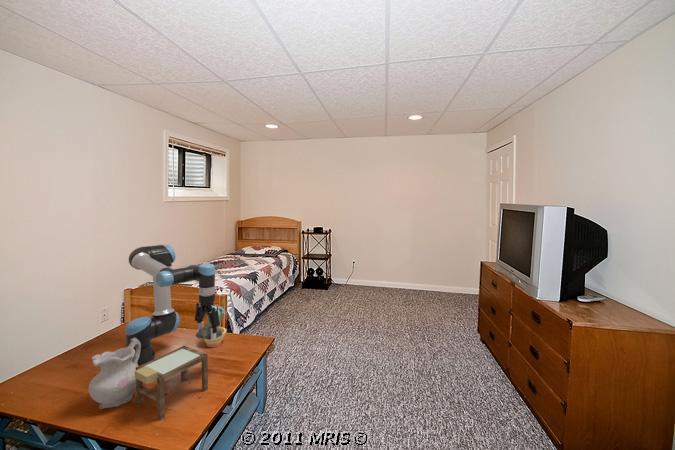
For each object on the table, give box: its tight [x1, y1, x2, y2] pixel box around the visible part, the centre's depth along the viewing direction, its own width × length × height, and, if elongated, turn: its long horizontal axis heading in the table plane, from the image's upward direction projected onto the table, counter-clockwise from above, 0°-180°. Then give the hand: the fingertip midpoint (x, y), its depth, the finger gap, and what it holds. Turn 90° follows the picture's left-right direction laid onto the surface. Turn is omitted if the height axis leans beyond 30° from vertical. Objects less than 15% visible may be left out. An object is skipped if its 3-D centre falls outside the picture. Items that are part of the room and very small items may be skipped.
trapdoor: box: [135, 349, 201, 385], centre depth 128 cm, size 13×23×3 cm, turn 153°
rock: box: [195, 323, 222, 340], centre depth 147 cm, size 13×9×6 cm, turn 148°
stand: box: [135, 345, 209, 421], centre depth 130 cm, size 18×23×18 cm
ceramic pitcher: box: [88, 337, 141, 410], centre depth 129 cm, size 22×20×25 cm
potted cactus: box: [203, 304, 227, 348], centre depth 182 cm, size 15×15×25 cm
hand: (207, 336), depth 147 cm, fingers closed on rock, 9 cm apart
